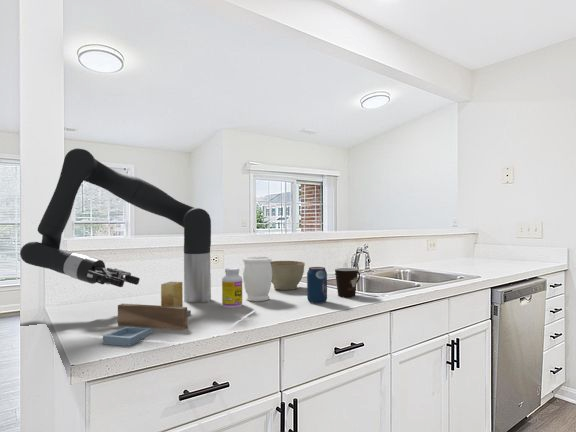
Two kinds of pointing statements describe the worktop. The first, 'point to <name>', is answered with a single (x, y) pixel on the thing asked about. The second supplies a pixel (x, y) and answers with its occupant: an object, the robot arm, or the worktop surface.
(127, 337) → the socket
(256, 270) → the jar
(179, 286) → the block
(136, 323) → the board
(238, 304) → the supplement bottle
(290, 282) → the planter bowl
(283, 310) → the worktop surface
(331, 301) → the worktop surface
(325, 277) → the soda can
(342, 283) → the coffee mug
